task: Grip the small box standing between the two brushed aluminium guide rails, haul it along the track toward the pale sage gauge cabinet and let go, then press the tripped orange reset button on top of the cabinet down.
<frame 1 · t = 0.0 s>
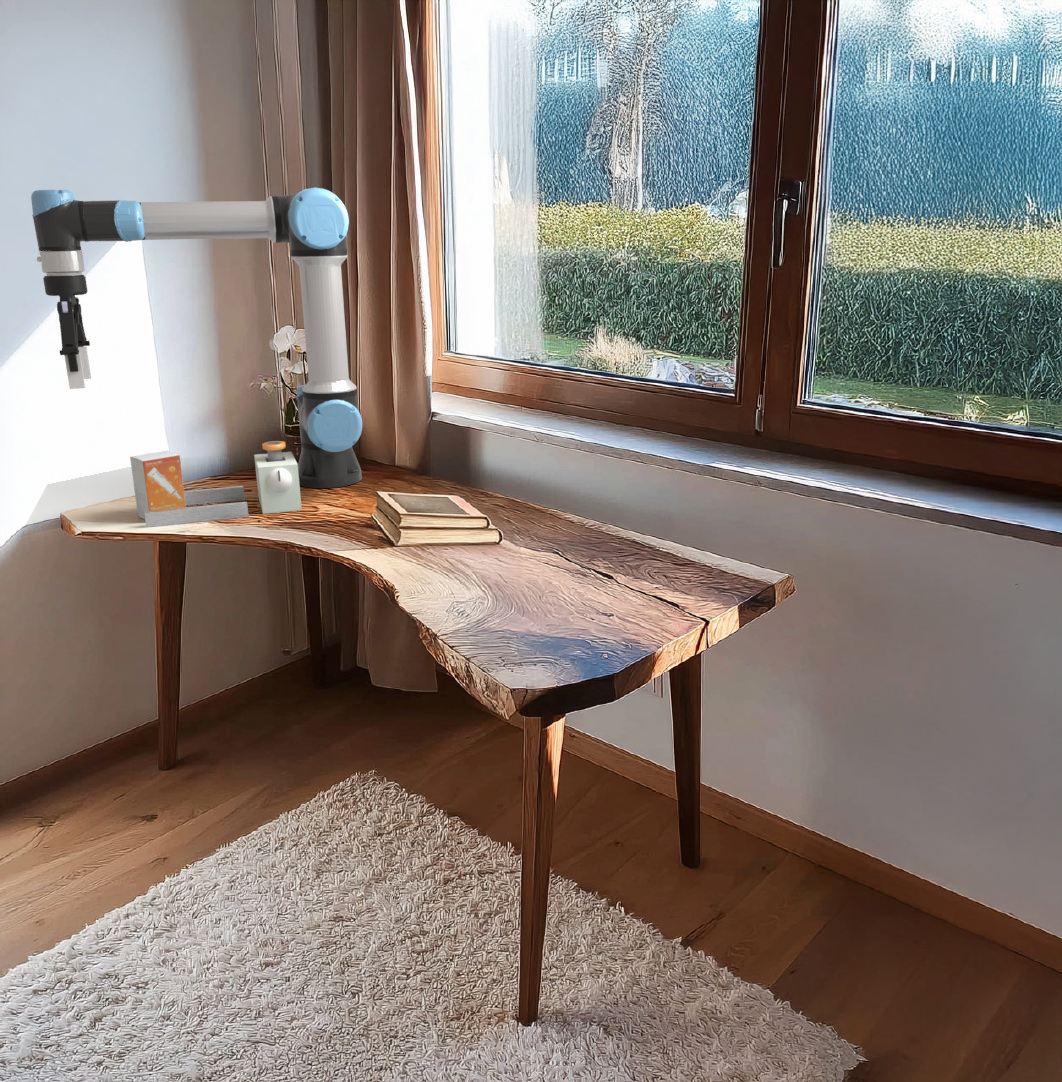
hand: (80, 383, 197), 28 cm above the table, tool pointing down, fingers open, 13 cm apart
reset button: (279, 504, 213), resting on gauge cabinet, slide at 0.0 cm
guide rails: (197, 512, 208), on the table
gauge cabinet: (279, 504, 213), on the table
small box: (162, 516, 206), on the table
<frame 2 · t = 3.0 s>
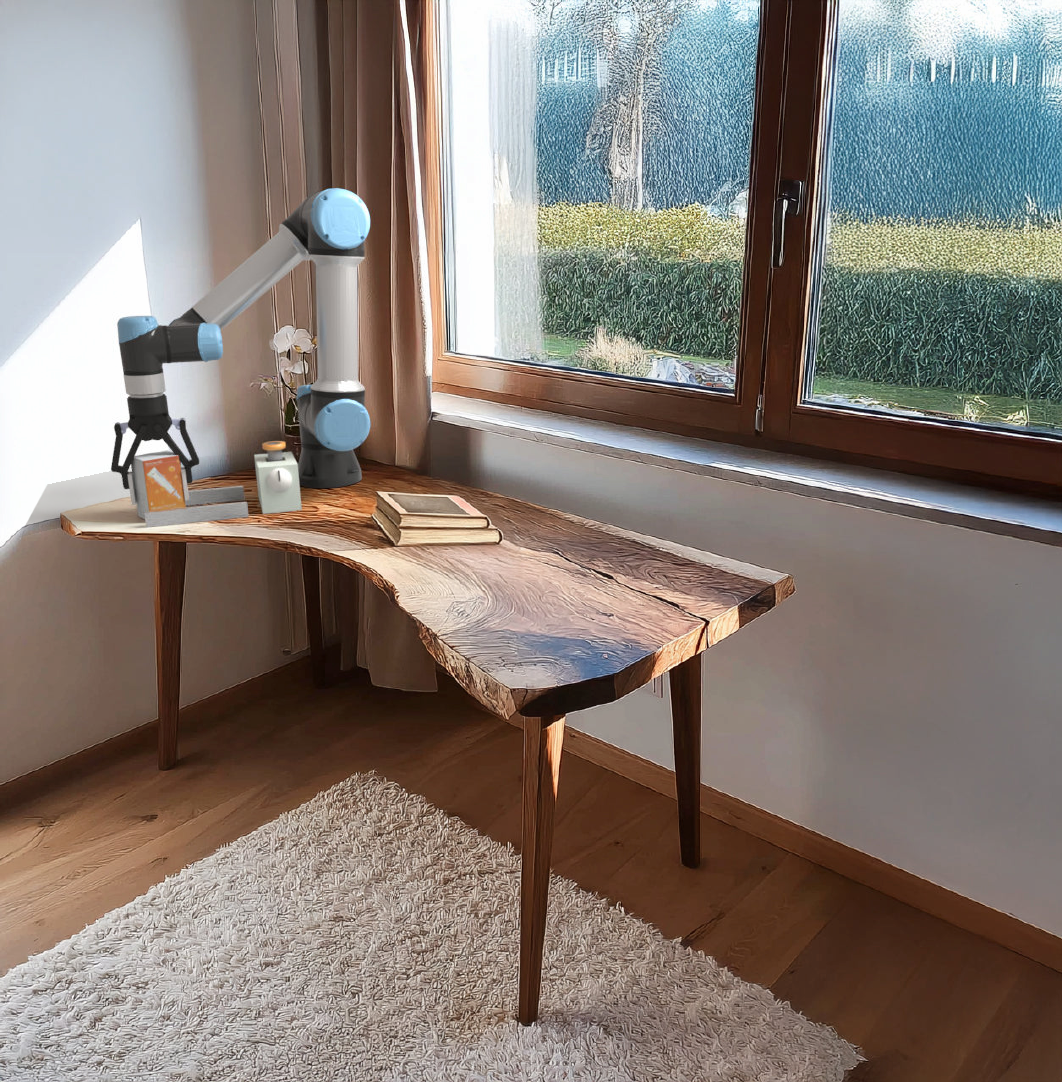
hand: (160, 501, 205), 3 cm above the table, tool pointing down, fingers closed on small box, 10 cm apart
small box: (162, 516, 206), on the table, touching gripper
everything else where it was.
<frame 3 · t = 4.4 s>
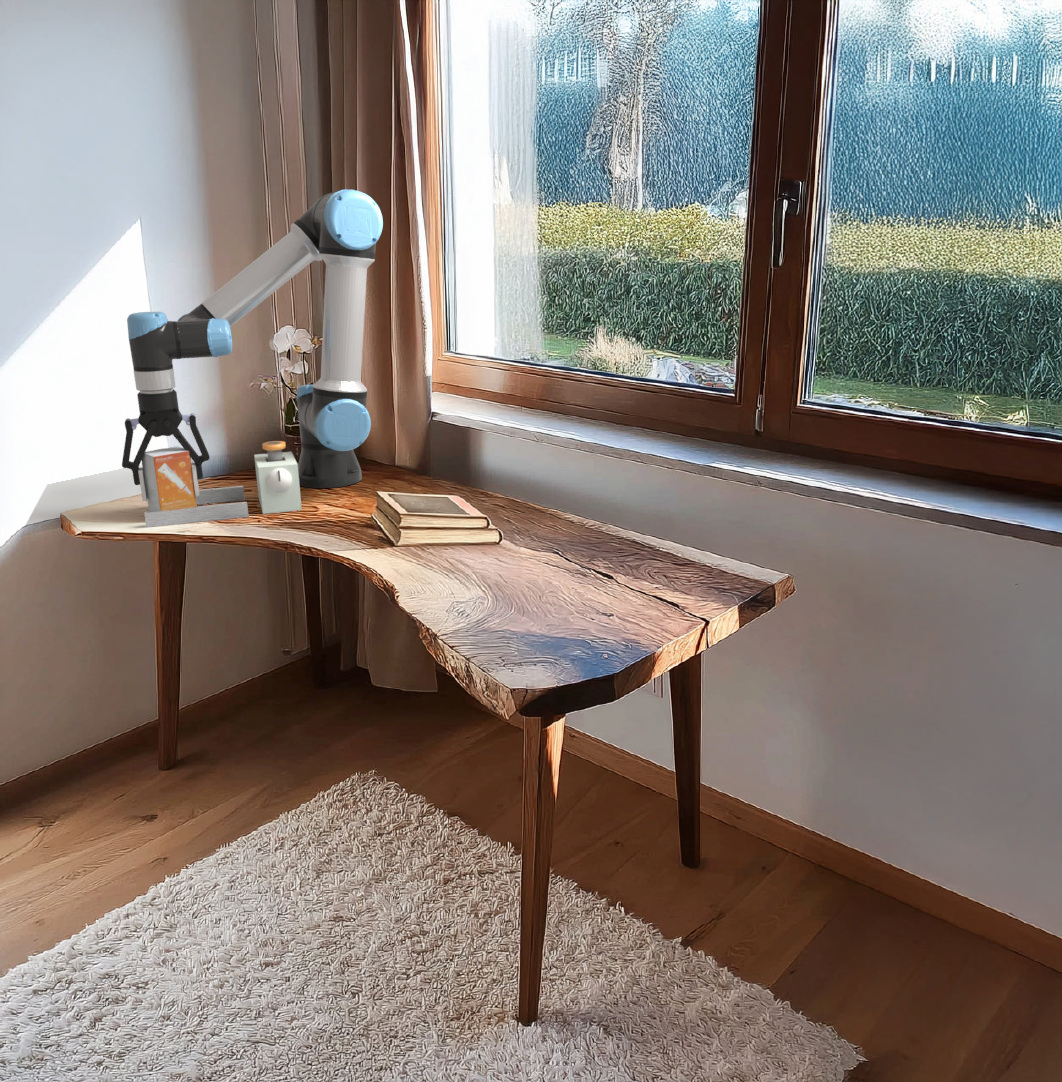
hand: (171, 496, 206), 4 cm above the table, tool pointing down, fingers closed on small box, 10 cm apart
small box: (173, 512, 207), on the table, touching gripper
everything else where it was.
when the fingers open (4 cm above the table, at t = 6.0 s): small box stays where it is, on the table.
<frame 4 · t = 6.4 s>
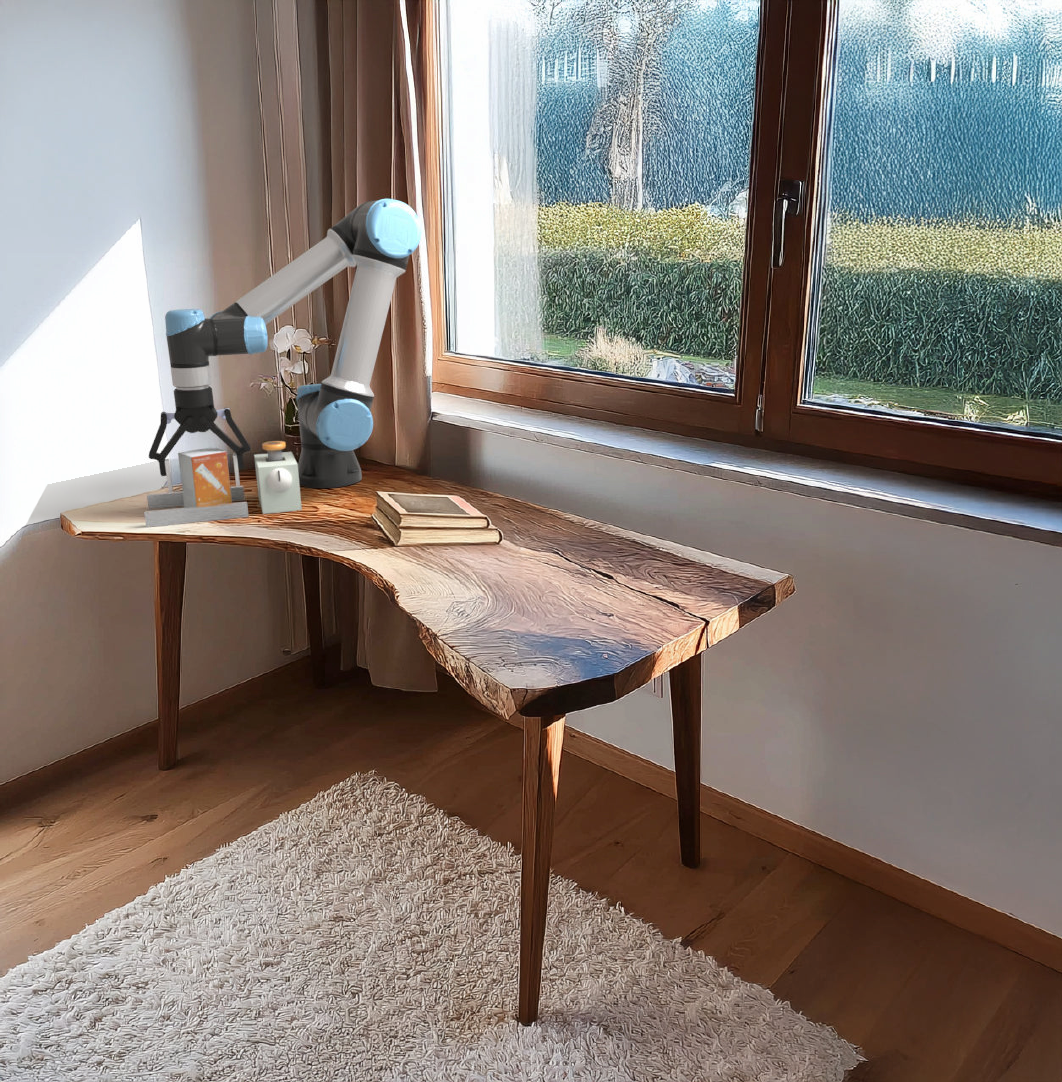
hand: (204, 487, 207), 5 cm above the table, tool pointing down, fingers open, 13 cm apart
small box: (209, 512, 209), on the table
everything else where it was.
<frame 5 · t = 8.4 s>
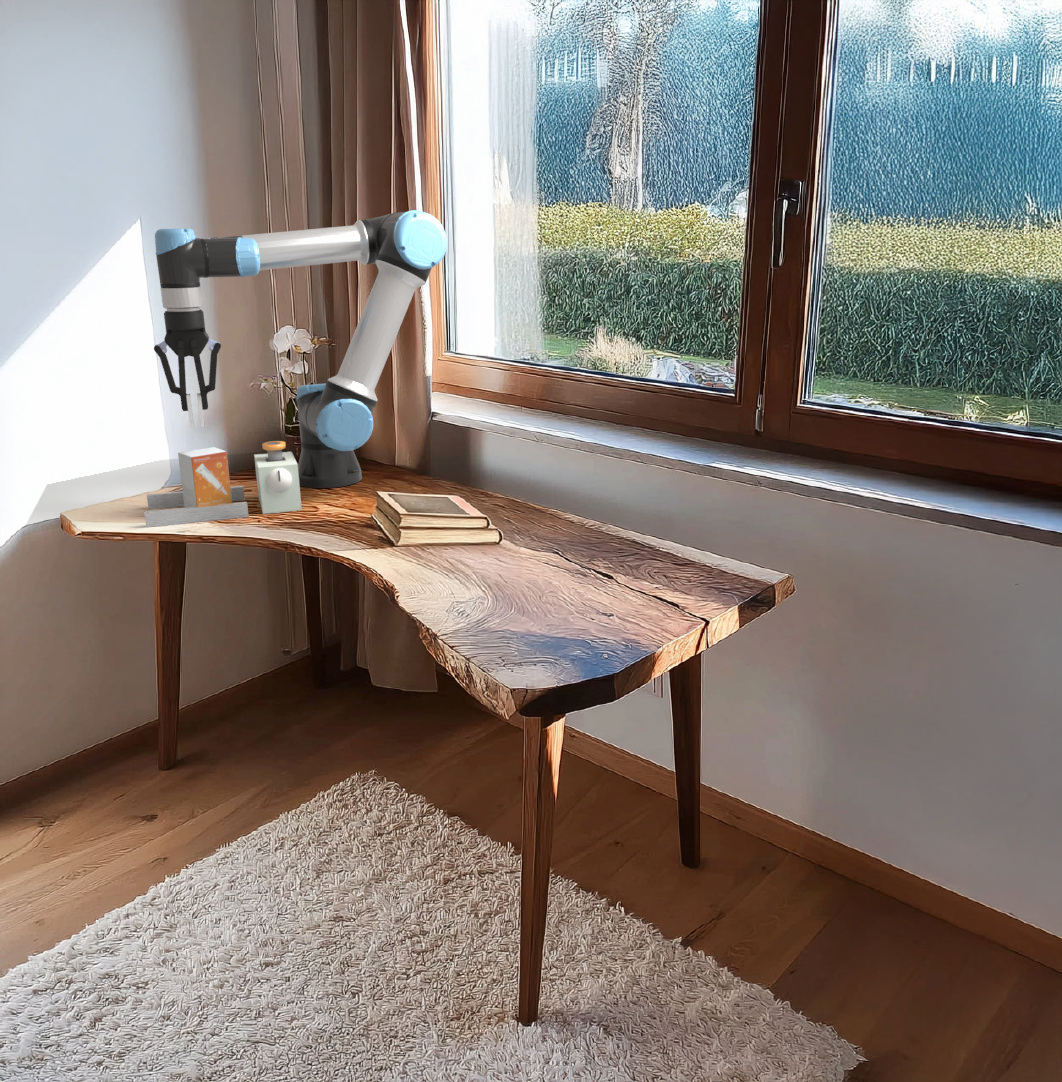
hand: (197, 425, 203), 18 cm above the table, tool pointing down, fingers closed
nothing on the table moved.
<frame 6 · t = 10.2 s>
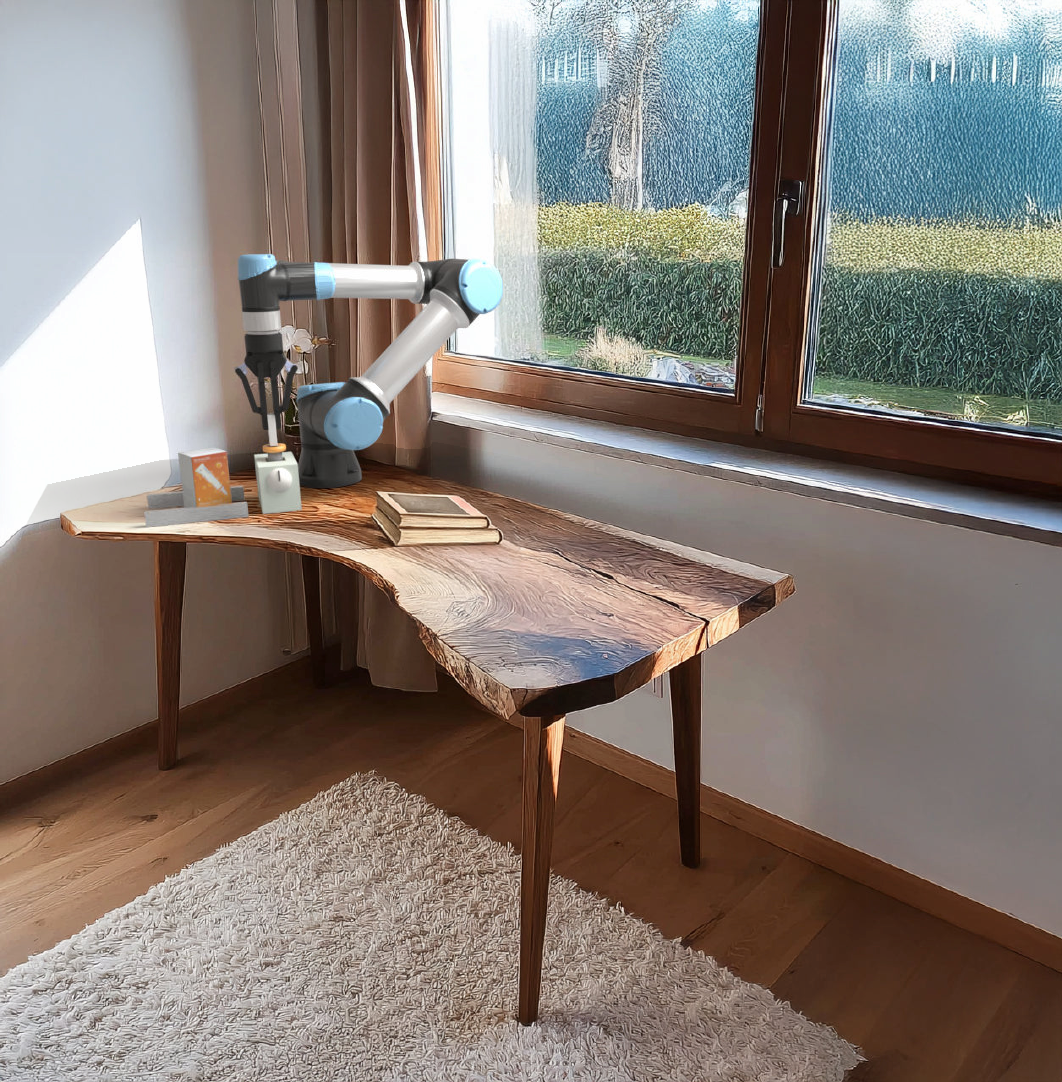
hand: (273, 444, 209), 13 cm above the table, tool pointing down, fingers closed
reset button: (279, 506, 214), resting on gauge cabinet, slide at 0.5 cm, touching gripper
everything else where it was.
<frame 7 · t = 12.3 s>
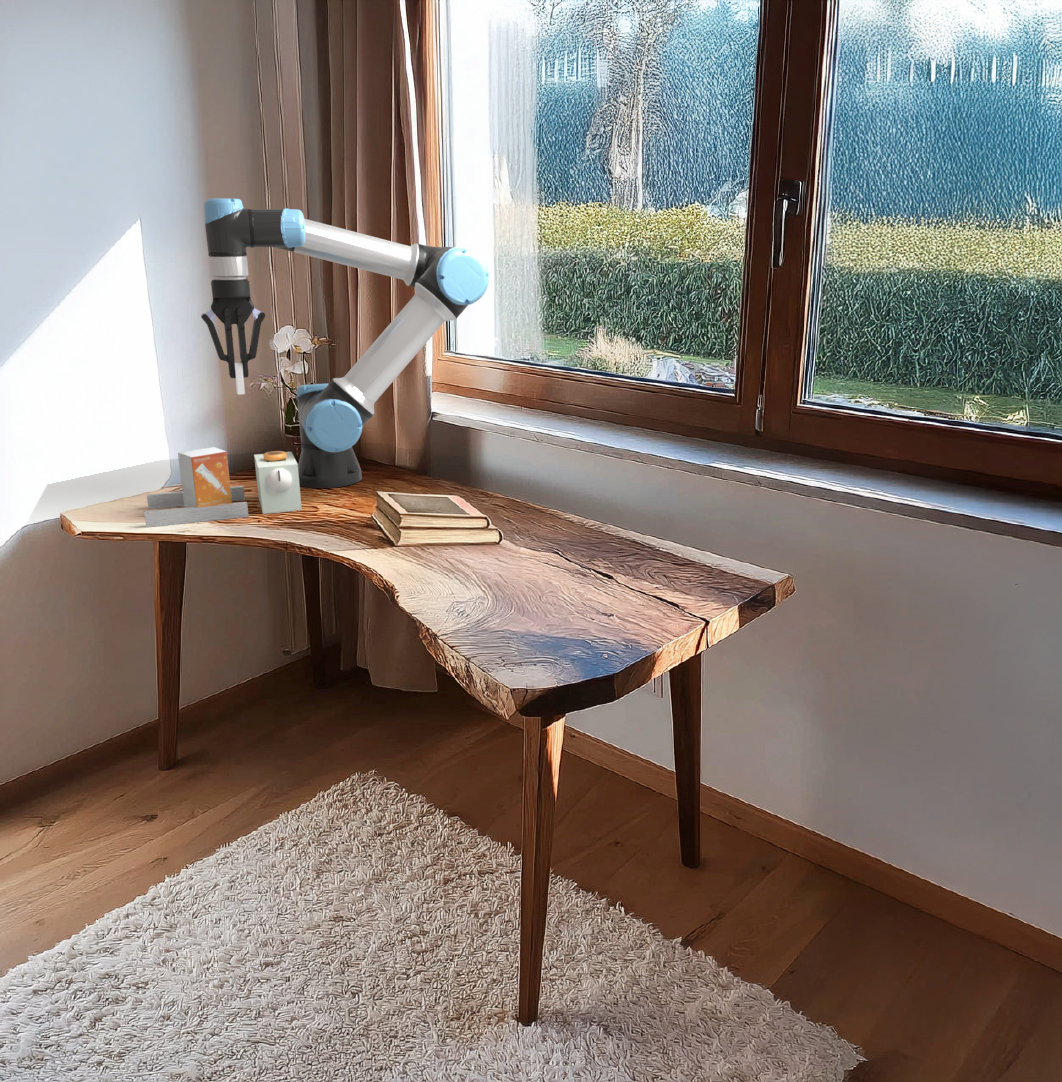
hand: (240, 393, 208), 24 cm above the table, tool pointing down, fingers closed
reset button: (280, 514, 214), resting on gauge cabinet, slide at 2.2 cm
everything else where it was.
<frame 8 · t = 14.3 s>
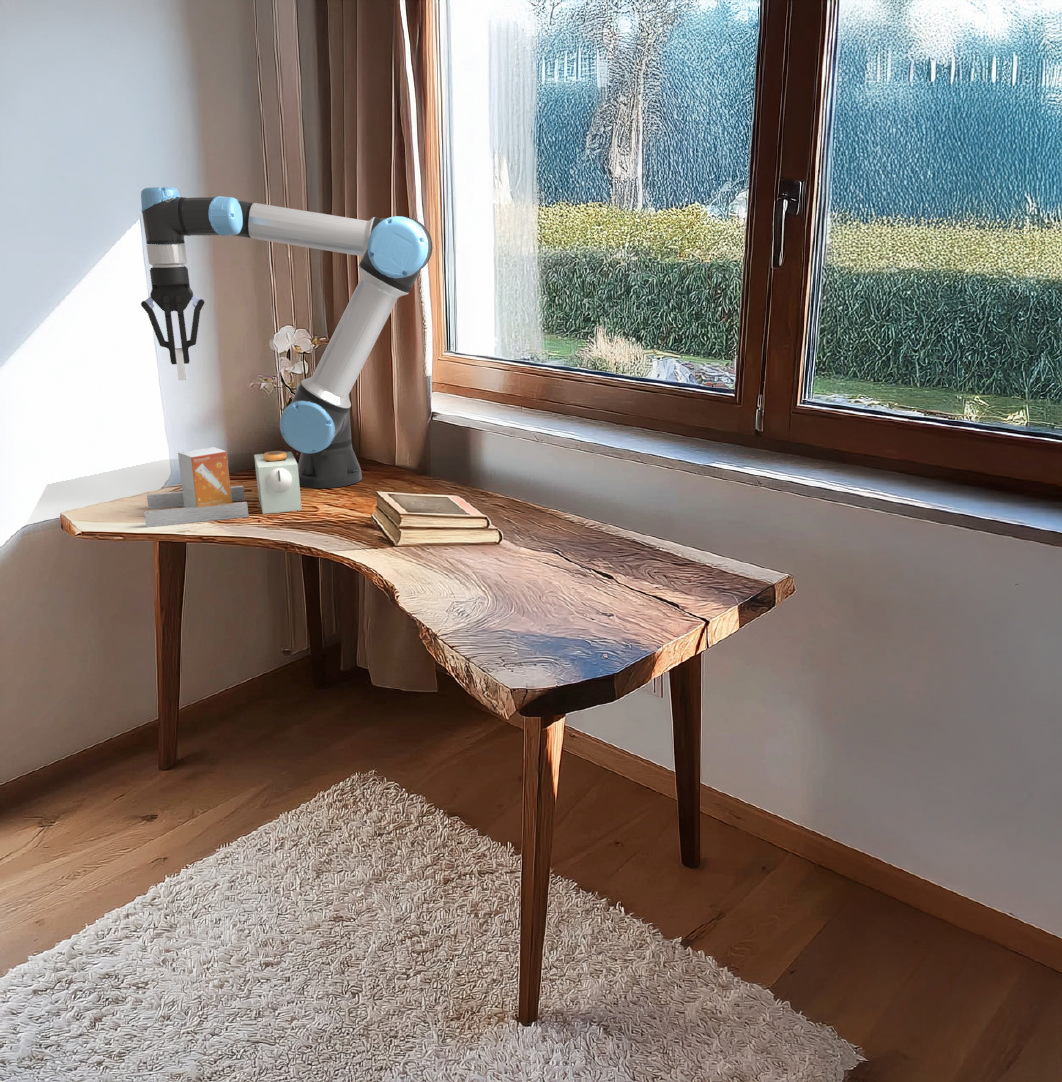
hand: (182, 379, 212), 26 cm above the table, tool pointing down, fingers closed
nothing on the table moved.
at the end: small box inside the target area (0.7 cm from its centre), on the table; small box tilted 0°; reset button slide at 2.2 cm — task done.
